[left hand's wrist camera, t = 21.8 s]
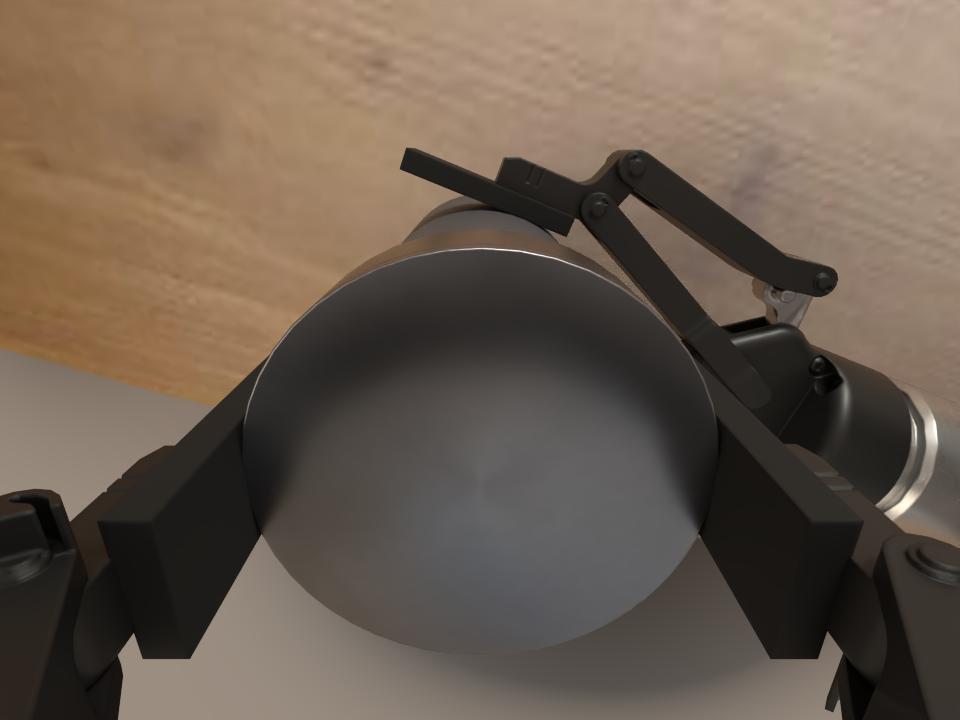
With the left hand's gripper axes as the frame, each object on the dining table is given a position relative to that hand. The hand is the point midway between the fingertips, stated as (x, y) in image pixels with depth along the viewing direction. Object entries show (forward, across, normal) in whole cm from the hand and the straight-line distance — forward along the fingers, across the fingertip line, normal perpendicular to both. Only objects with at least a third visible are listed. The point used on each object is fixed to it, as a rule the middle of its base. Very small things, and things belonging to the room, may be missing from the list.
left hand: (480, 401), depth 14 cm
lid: (-3, 0, 0) cm, 3 cm away
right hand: (+9, -4, +2) cm, 10 cm away
